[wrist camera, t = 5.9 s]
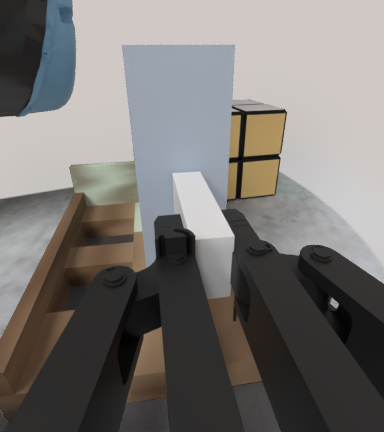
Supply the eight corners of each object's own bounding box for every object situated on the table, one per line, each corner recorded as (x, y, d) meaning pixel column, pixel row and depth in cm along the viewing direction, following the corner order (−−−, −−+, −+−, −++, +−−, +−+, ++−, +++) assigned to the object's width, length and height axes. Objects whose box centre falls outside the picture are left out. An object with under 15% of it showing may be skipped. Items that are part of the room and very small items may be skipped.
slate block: (147, 280, 18) (122, 45, 12) (146, 226, 24) (128, 51, 18) (223, 271, 19) (235, 44, 13) (203, 221, 25) (205, 50, 19)
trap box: (9, 422, 13) (-44, 332, 10) (83, 220, 29) (71, 164, 27) (280, 378, 15) (300, 290, 12) (206, 210, 31) (207, 157, 28)
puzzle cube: (179, 175, 41) (177, 101, 36) (244, 169, 43) (250, 99, 38) (196, 205, 33) (196, 113, 28) (276, 196, 35) (289, 109, 30)
